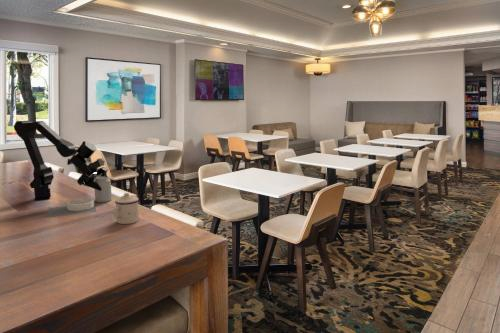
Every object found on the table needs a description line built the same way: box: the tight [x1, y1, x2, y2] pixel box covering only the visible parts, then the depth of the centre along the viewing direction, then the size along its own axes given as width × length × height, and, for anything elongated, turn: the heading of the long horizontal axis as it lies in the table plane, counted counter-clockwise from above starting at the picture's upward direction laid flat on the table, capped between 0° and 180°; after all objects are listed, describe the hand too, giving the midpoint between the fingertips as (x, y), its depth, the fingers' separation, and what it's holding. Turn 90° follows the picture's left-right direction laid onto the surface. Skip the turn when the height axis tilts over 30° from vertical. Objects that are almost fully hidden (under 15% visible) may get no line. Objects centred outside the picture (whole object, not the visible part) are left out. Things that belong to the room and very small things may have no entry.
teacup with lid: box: [112, 192, 140, 225], centre depth 152 cm, size 12×9×12 cm
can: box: [94, 175, 113, 203], centre depth 182 cm, size 8×8×12 cm
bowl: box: [66, 197, 95, 211], centre depth 171 cm, size 11×11×3 cm
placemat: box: [47, 203, 97, 218], centre depth 168 cm, size 19×16×1 cm
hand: (105, 188), depth 182 cm, fingers closed on can, 7 cm apart
